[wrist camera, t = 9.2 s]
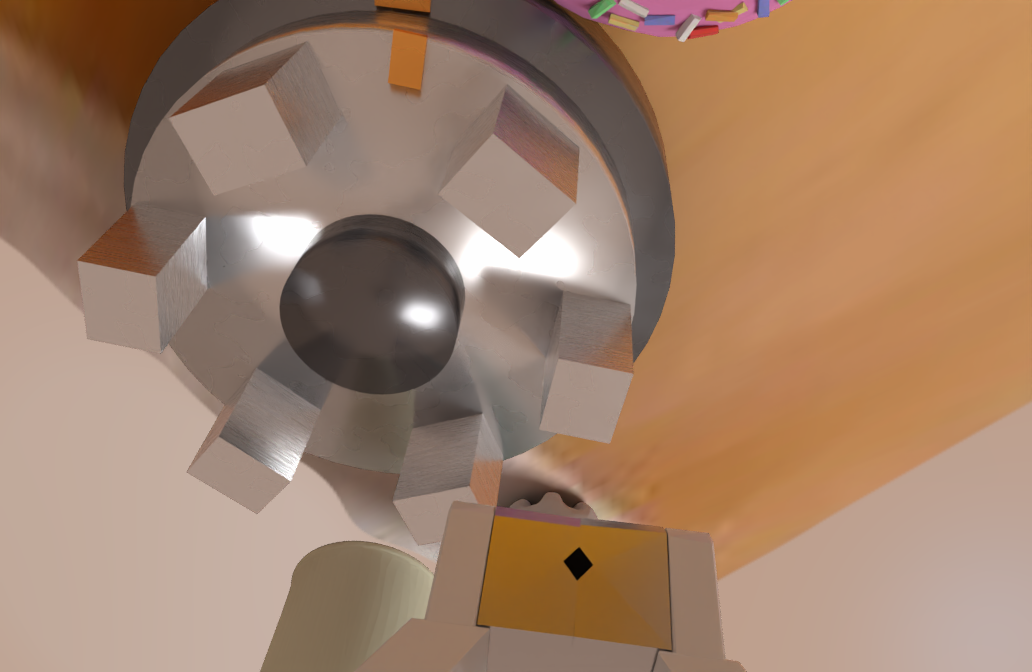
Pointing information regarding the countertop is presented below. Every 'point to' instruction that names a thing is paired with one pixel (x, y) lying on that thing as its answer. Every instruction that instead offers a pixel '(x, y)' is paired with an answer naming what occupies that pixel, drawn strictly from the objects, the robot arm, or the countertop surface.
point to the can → (346, 606)
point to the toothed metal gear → (377, 260)
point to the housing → (518, 27)
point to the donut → (673, 14)
